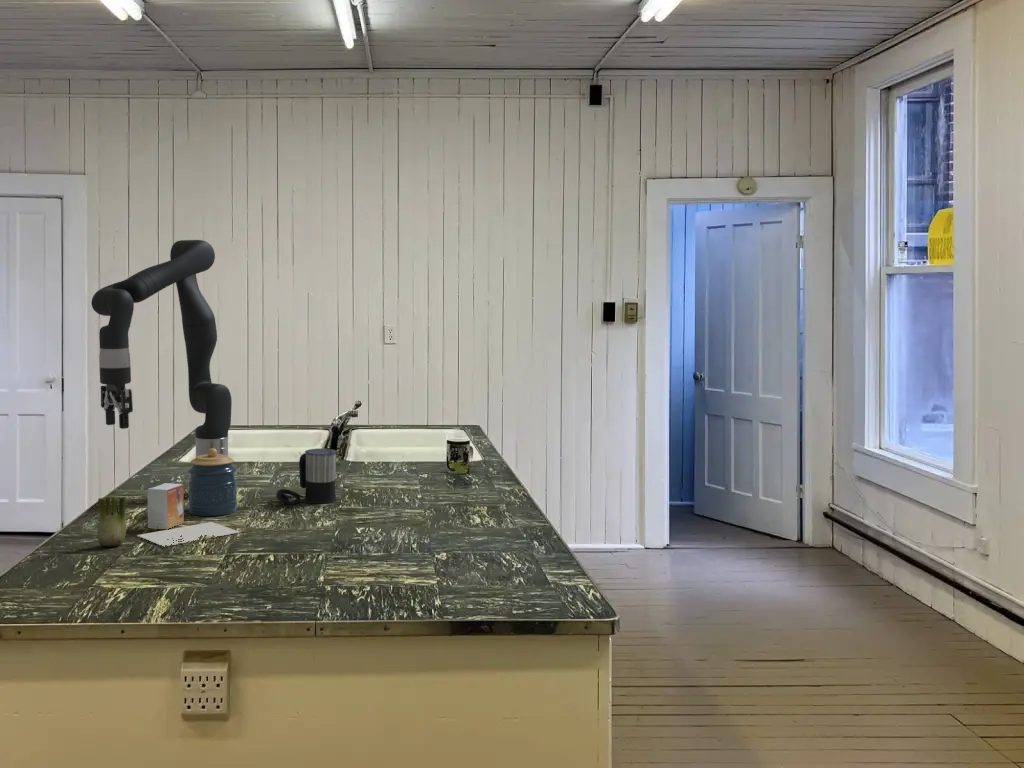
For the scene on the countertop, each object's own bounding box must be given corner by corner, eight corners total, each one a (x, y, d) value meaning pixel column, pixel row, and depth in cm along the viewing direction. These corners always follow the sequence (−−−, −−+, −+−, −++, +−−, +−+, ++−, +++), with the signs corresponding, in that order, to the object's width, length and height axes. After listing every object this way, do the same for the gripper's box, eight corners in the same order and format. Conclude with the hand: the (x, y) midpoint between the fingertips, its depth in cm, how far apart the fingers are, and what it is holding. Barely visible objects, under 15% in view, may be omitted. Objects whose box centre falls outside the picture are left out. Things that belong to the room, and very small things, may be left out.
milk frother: (343, 499, 273) (343, 450, 272) (309, 510, 259) (310, 457, 258) (304, 494, 279) (304, 445, 278) (269, 504, 265) (269, 453, 264)
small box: (167, 531, 233) (166, 490, 232) (147, 529, 235) (146, 488, 234) (184, 523, 241) (184, 483, 240) (165, 522, 242) (164, 482, 241)
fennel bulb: (128, 543, 221) (127, 494, 220) (120, 549, 216) (119, 498, 215) (103, 543, 221) (102, 493, 220) (95, 548, 216) (93, 498, 215)
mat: (211, 523, 242) (211, 521, 242) (240, 533, 232) (240, 531, 232) (137, 536, 227) (137, 535, 227) (164, 548, 218) (164, 546, 218)
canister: (191, 518, 246) (191, 453, 245) (184, 508, 258) (183, 445, 256) (241, 514, 252) (241, 450, 251) (232, 504, 264) (232, 443, 262)
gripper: (140, 366, 240) (143, 428, 242) (117, 362, 250) (120, 422, 252) (111, 368, 235) (114, 431, 237) (89, 364, 245) (91, 424, 247)
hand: (117, 426), depth 244 cm, fingers open, 8 cm apart
